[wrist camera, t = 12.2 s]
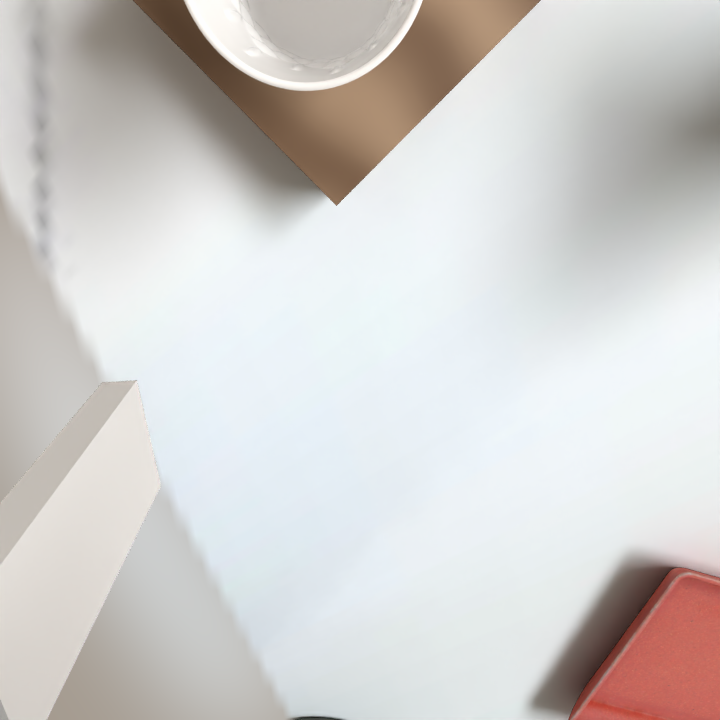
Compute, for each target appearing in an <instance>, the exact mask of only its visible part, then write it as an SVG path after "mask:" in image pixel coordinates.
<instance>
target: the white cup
mask: <svg viewBox="0 0 720 720" xmlns="http://www.w3.org/2000/svg"><path fill="white" fill-rule="evenodd" d="M422 1H423V0H184V2H185V4H186V6H187V8H188V10H189V12H190V14H191V16H192V18H193V20H194V21H195V23H196V25H197V26H198V28H199V29H200V31H201V32H202V34H203V35H204V36H205V38H206V39H207V40H208V41H209V43H210V44H211V45H212V46H213V47H214V48H215V49H216V50H217V52H218V53H219V54H220V55H222V56H223V57H224V58H225V59H226V60H227V61H228V62H230V63H231V64H232V65H233V66H235V67H236V68H237V69H239V70H240V71H242V72H243V73H245V74H247V75H249V76H250V77H252V78H254V79H256V80H258V81H261V82H263V83H266V84H268V85H272V86H275V87H279V88H283V89H288V90H296V91H316V90H324V89H329V88H334V87H337V86H340V85H343V84H346V83H349V82H351V81H353V80H355V79H357V78H359V77H361V76H363V75H365V74H366V73H368V72H369V71H371V70H372V69H374V68H375V67H376V66H377V65H379V64H380V63H381V62H382V61H383V60H384V59H386V58H387V57H388V56H389V55H390V54H391V53H392V51H393V50H394V49H395V48H396V47H397V46H398V44H399V43H400V42H401V41H402V39H403V38H404V36H405V35H406V33H407V32H408V30H409V29H410V27H411V25H412V23H413V21H414V19H415V18H416V15H417V13H418V11H419V9H420V6H421V4H422Z"/></svg>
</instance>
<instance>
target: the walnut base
mask: <svg viewBox="0 0 720 720" xmlns="http://www.w3.org/2000/svg"><path fill="white" fill-rule="evenodd" d="M133 1H134V2H135V3H136V4H137V5H138V6H139V7H140V8H141V9H142V10H143V11H144V12H145V13H146V14H147V15H148V16H149V17H150V18H151V19H152V20H153V21H154V22H155V23H156V24H157V25H158V26H159V27H160V28H161V29H162V30H163V31H164V32H165V33H166V34H167V35H168V36H169V37H170V38H171V39H172V40H173V41H174V42H175V43H176V44H177V45H178V46H179V47H180V48H181V49H182V50H183V51H184V52H185V53H186V54H187V55H188V56H189V57H190V58H191V59H192V60H193V61H194V62H195V63H196V64H197V66H198V67H199V68H200V69H201V70H202V71H203V72H204V73H205V74H206V75H207V76H208V77H209V78H210V79H211V80H212V81H213V82H214V83H215V84H216V85H217V86H218V87H219V88H220V89H221V90H222V91H223V92H224V93H225V94H226V95H227V96H228V97H229V98H230V99H231V100H232V101H233V102H234V103H235V104H236V105H237V106H238V107H239V108H240V109H241V110H242V111H243V112H244V113H245V114H246V115H247V116H248V117H249V118H250V119H251V120H252V121H253V122H254V123H255V124H256V125H257V126H258V127H259V128H260V129H261V130H262V131H263V132H264V133H265V134H266V135H267V136H268V137H269V138H270V139H271V140H272V141H273V142H274V143H275V144H276V145H277V146H278V147H279V148H280V149H281V150H282V151H283V152H284V153H285V154H286V155H287V156H288V157H289V158H290V159H291V160H292V161H293V162H294V163H295V164H296V165H297V166H298V167H299V168H300V169H301V170H302V171H303V172H304V173H305V174H306V175H307V176H308V177H309V178H310V179H311V180H312V181H313V182H314V183H315V184H316V185H317V186H318V187H319V188H320V189H321V191H322V192H323V193H324V194H325V195H326V196H327V197H328V198H329V199H330V200H331V201H332V202H333V203H334V204H335V205H336V206H337V205H338V204H339V203H340V202H341V201H342V200H343V199H344V198H345V197H346V196H347V195H348V194H349V193H350V192H351V191H352V190H353V189H354V188H355V187H356V186H357V185H358V184H359V183H360V182H361V181H362V180H363V179H364V178H365V177H366V176H367V175H368V174H369V173H370V172H371V171H372V170H373V169H374V168H375V167H376V166H377V164H378V163H379V162H380V161H381V160H382V159H383V158H384V157H385V156H386V155H387V154H388V153H389V152H390V151H391V150H392V149H393V148H394V147H395V146H396V145H397V144H398V143H399V142H400V141H401V140H402V139H403V138H404V137H405V136H406V135H407V134H408V133H409V132H410V131H411V130H412V129H413V128H414V127H415V126H416V125H417V124H418V123H419V122H420V121H421V120H422V119H423V118H424V117H425V116H426V115H427V114H428V113H429V112H430V111H431V110H432V109H433V108H434V107H435V106H436V105H437V104H438V103H439V102H440V101H441V100H442V99H443V98H444V97H445V96H446V95H447V94H448V93H449V92H450V91H451V90H452V89H453V88H454V87H455V86H456V85H457V84H458V83H459V82H460V81H461V80H462V79H463V78H464V77H465V76H466V75H467V74H468V73H469V72H470V71H471V70H472V69H473V68H474V67H475V66H476V65H477V64H478V63H479V62H480V61H481V60H482V59H483V58H484V57H485V56H486V55H487V54H488V53H489V52H490V51H491V50H492V49H493V48H494V47H495V46H496V45H497V44H498V43H499V42H500V41H501V40H502V39H503V38H504V37H505V36H506V35H507V34H508V33H509V32H510V31H511V30H512V29H513V28H514V27H515V26H516V25H517V24H518V23H519V22H520V21H521V20H522V19H523V18H524V17H525V16H526V15H527V14H528V13H529V12H530V11H531V10H532V9H533V8H534V7H535V6H536V5H537V4H538V3H539V2H540V1H541V0H423V1H422V4H421V6H420V9H419V11H418V13H417V15H416V18H415V19H414V21H413V23H412V25H411V27H410V29H409V30H408V32H407V33H406V35H405V36H404V38H403V39H402V41H401V42H400V43H399V44H398V46H397V47H396V48H395V49H394V50H393V51H392V53H391V54H390V55H389V56H388V57H387V58H386V59H384V60H383V61H382V62H381V63H380V64H379V65H377V66H376V67H375V68H374V69H372V70H371V71H369V72H368V73H366V74H365V75H363V76H361V77H359V78H357V79H355V80H353V81H351V82H349V83H346V84H343V85H340V86H337V87H334V88H329V89H324V90H316V91H296V90H288V89H283V88H279V87H275V86H272V85H268V84H266V83H263V82H261V81H258V80H256V79H254V78H252V77H250V76H249V75H247V74H245V73H243V72H242V71H240V70H239V69H237V68H236V67H235V66H233V65H232V64H231V63H230V62H228V61H227V60H226V59H225V58H224V57H223V56H222V55H220V54H219V53H218V52H217V50H216V49H215V48H214V47H213V46H212V45H211V44H210V43H209V41H208V40H207V39H206V38H205V36H204V35H203V34H202V32H201V31H200V29H199V28H198V26H197V25H196V23H195V21H194V20H193V18H192V16H191V14H190V12H189V10H188V8H187V6H186V4H185V2H184V0H133Z"/></svg>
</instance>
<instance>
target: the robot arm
mask: <svg viewBox="0 0 720 720" xmlns="http://www.w3.org/2000/svg"><path fill="white" fill-rule="evenodd" d="M160 487H161V483H160V479H159V475H158V470H157V466H156V462H155V457H154V453H153V449H152V444H151V440H150V436H149V431H148V427H147V423H146V418H145V414H144V410H143V405H142V401H141V397H140V392H139V388H138V384H137V380H135V381H118V382H102V383H101V384H100V386H99V387H98V388H97V389H96V390H95V391H94V393H93V394H92V395H91V396H90V397H89V399H88V400H87V401H86V402H85V403H84V404H83V406H82V407H81V408H80V409H79V411H78V412H77V413H76V414H75V415H74V416H73V417H72V419H71V420H70V421H69V422H68V423H67V425H66V426H65V427H64V428H63V429H62V431H61V432H60V433H59V434H58V435H57V436H56V438H55V439H54V440H53V441H52V442H51V444H50V445H49V446H48V447H47V448H46V449H45V451H44V452H43V453H42V454H41V455H40V456H39V458H38V459H37V460H36V461H35V462H34V464H33V465H32V466H31V467H30V468H29V469H28V471H27V472H26V473H25V474H24V475H23V477H22V478H21V479H20V480H19V481H18V482H17V484H16V485H15V486H14V487H13V488H12V490H11V491H10V492H9V493H8V494H7V496H6V497H5V498H4V499H3V500H2V501H1V503H0V720H47V718H48V716H49V714H50V712H51V710H52V708H53V706H54V704H55V702H56V700H57V697H58V696H59V693H60V691H61V689H62V687H63V685H64V683H65V681H66V679H67V677H68V675H69V673H70V671H71V669H72V667H73V665H74V663H75V661H76V659H77V657H78V655H79V653H80V651H81V648H82V646H83V644H84V642H85V640H86V638H87V636H88V634H89V632H90V630H91V628H92V626H93V624H94V622H95V620H96V617H97V616H98V614H99V612H100V610H101V608H102V605H103V604H104V602H105V599H106V597H107V595H108V593H109V591H110V589H111V587H112V585H113V583H114V581H115V579H116V577H117V575H118V573H119V571H120V569H121V567H122V565H123V563H124V561H125V559H126V556H127V555H128V552H129V550H130V548H131V546H132V544H133V542H134V540H135V538H136V536H137V534H138V532H139V530H140V528H141V526H142V524H143V522H144V520H145V518H146V515H147V514H148V512H149V510H150V507H151V505H152V503H153V501H154V499H155V497H156V495H157V493H158V491H159V489H160ZM296 720H336V719H328V718H305V719H296Z"/></svg>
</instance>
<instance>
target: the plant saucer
mask: <svg viewBox="0 0 720 720" xmlns="http://www.w3.org/2000/svg"><path fill="white" fill-rule="evenodd" d="M568 720H720V578H718V577H715V576H711V575H708V574H704V573H701V572H697V571H693V570H690V569H686V568H675V569H672V570H671V571H670V572H669V573H668V574H667V575H666V577H665V578H664V579H663V581H662V582H661V584H660V585H659V586H658V588H657V589H656V591H655V592H654V593H653V595H652V596H651V597H650V599H649V600H648V602H647V603H646V604H645V606H644V607H643V608H642V610H641V611H640V612H639V614H638V615H637V617H636V618H635V619H634V621H633V622H632V623H631V625H630V626H629V628H628V629H627V630H626V632H625V633H624V634H623V636H622V637H621V639H620V640H619V641H618V643H617V644H616V645H615V647H614V648H613V650H612V651H611V652H610V654H609V655H608V656H607V658H606V659H605V660H604V662H603V663H602V664H601V666H600V667H599V669H598V670H597V671H596V673H595V674H594V675H593V677H592V678H591V680H590V681H589V682H588V684H587V685H586V686H585V688H584V690H583V691H582V693H581V695H580V696H579V698H578V700H577V702H576V704H575V706H574V708H573V710H572V712H571V714H570V717H569V719H568Z"/></svg>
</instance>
